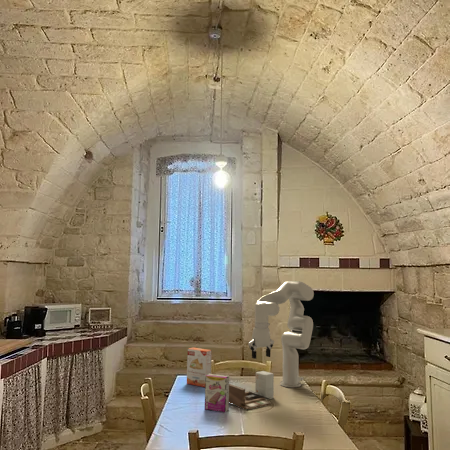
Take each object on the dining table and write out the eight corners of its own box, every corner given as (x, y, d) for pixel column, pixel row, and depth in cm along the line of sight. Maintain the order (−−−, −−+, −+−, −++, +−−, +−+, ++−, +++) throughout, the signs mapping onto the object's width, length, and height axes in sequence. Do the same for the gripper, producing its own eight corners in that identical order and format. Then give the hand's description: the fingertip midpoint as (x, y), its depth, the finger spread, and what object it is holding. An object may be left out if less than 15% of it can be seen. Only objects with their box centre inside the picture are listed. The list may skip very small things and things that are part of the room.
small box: (273, 398, 234) (274, 373, 236) (265, 400, 230) (265, 375, 232) (263, 394, 240) (263, 370, 242) (254, 396, 236) (255, 372, 238)
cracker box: (186, 384, 259) (187, 348, 262) (192, 382, 265) (193, 347, 267) (205, 387, 252) (206, 351, 254) (211, 385, 257) (212, 349, 259)
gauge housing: (247, 396, 237) (247, 379, 238) (270, 404, 223) (270, 386, 224) (224, 401, 227) (224, 383, 228) (247, 410, 213) (247, 391, 214)
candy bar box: (204, 410, 212) (204, 375, 214) (207, 407, 217) (208, 373, 219) (225, 412, 209) (226, 377, 210) (229, 409, 213) (229, 375, 215)
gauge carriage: (251, 394, 236) (251, 390, 237) (271, 401, 224) (271, 397, 224) (240, 396, 232) (240, 392, 232) (260, 404, 220) (260, 400, 220)
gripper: (269, 324, 247) (269, 354, 245) (244, 325, 238) (244, 357, 236) (278, 325, 241) (277, 357, 239) (253, 327, 231) (252, 360, 230)
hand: (261, 357), depth 237 cm, fingers open, 9 cm apart
